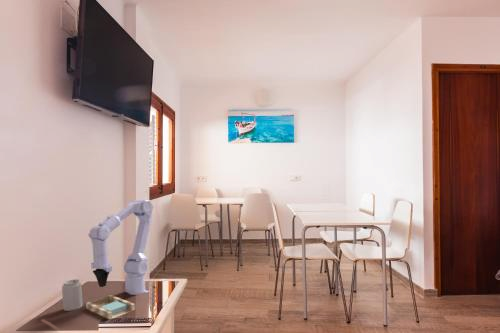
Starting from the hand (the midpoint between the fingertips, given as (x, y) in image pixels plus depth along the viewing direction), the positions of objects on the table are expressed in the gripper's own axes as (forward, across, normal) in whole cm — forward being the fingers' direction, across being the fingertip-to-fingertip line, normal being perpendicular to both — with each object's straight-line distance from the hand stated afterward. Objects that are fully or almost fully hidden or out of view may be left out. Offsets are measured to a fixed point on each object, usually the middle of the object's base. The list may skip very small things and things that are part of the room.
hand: (102, 286), depth 151 cm
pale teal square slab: (+9, +8, 0) cm, 12 cm away
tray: (+9, +6, 0) cm, 11 cm away
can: (+10, -12, -8) cm, 17 cm away
